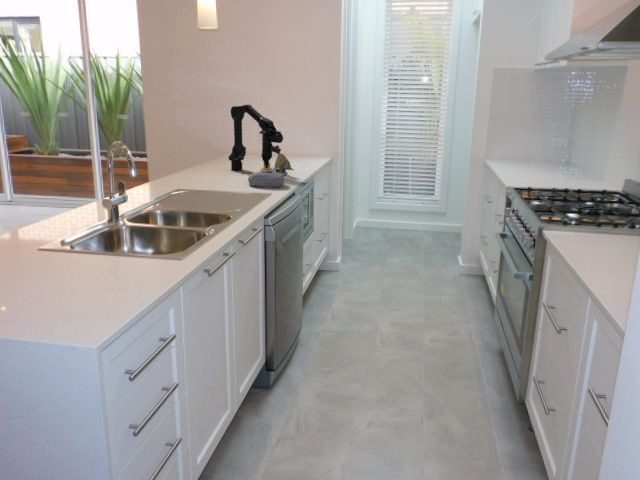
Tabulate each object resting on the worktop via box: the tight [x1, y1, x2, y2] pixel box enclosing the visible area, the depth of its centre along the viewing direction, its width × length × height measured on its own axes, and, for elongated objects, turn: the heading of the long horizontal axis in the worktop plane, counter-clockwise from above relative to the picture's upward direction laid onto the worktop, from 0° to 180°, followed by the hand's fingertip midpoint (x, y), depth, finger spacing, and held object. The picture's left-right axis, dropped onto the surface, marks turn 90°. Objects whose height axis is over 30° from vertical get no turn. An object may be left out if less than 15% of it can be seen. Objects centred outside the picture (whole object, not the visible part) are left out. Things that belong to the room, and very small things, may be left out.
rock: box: [273, 152, 292, 170], centre depth 368 cm, size 11×9×10 cm
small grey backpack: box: [247, 171, 285, 189], centre depth 306 cm, size 15×8×20 cm
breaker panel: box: [259, 167, 287, 177], centre depth 347 cm, size 16×17×4 cm
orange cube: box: [263, 162, 271, 170], centre depth 342 cm, size 4×4×5 cm
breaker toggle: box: [279, 159, 289, 171], centre depth 341 cm, size 2×3×8 cm
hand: (266, 167), depth 342 cm, fingers open, 6 cm apart
